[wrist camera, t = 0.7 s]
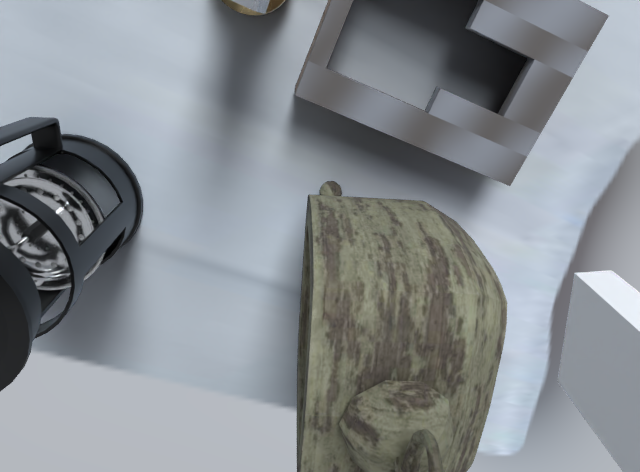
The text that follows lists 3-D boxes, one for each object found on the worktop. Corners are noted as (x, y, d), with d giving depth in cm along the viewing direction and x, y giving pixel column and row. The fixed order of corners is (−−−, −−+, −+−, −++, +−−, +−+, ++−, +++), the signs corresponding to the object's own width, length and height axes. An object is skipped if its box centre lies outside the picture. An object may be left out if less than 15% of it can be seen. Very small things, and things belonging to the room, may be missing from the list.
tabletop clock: (307, 162, 37) (324, 395, 14) (429, 169, 37) (641, 405, 14) (297, 330, 42) (295, 697, 19) (403, 334, 43) (525, 694, 20)
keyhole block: (295, 85, 35) (295, 95, 30) (361, -87, 31) (373, -107, 26) (484, 165, 37) (509, 186, 33) (566, 16, 34) (608, 15, 29)
